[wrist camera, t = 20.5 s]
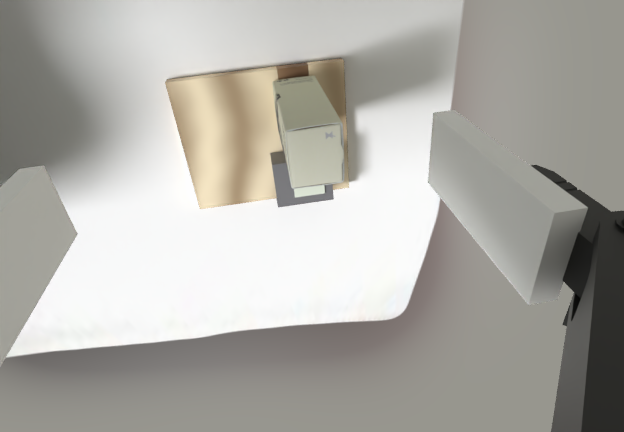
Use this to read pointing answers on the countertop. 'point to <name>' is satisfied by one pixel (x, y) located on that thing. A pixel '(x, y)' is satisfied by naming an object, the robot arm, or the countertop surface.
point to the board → (242, 128)
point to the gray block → (299, 195)
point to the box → (309, 132)
